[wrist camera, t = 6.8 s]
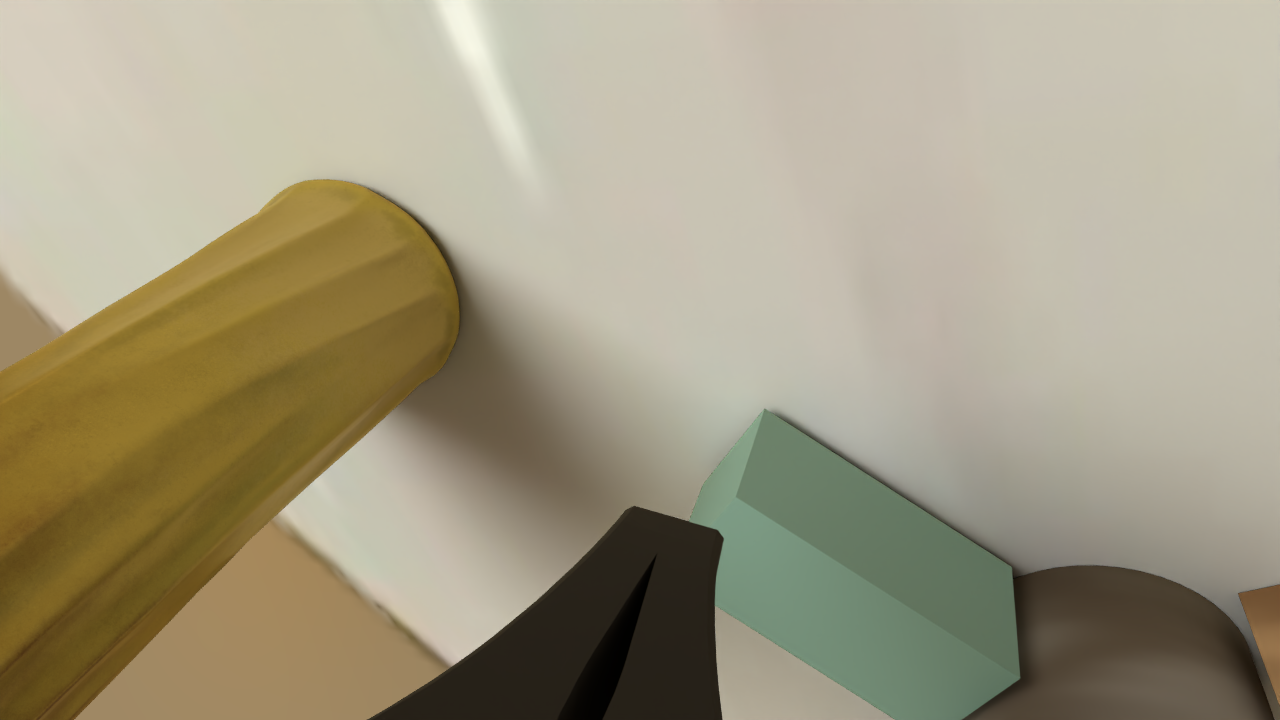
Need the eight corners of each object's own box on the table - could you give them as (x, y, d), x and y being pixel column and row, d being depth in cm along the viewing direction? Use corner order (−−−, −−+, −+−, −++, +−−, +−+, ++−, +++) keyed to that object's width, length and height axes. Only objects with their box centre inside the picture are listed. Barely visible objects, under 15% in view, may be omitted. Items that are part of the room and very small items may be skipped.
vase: (467, 406, 25) (34, 918, 13) (275, 360, 26) (-275, 789, 15) (459, 199, 22) (-120, 632, 10) (241, 158, 23) (-499, 500, 11)
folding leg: (1011, 567, 22) (1020, 678, 19) (933, 630, 24) (930, 741, 21) (764, 408, 22) (736, 496, 19) (703, 484, 24) (668, 575, 21)
